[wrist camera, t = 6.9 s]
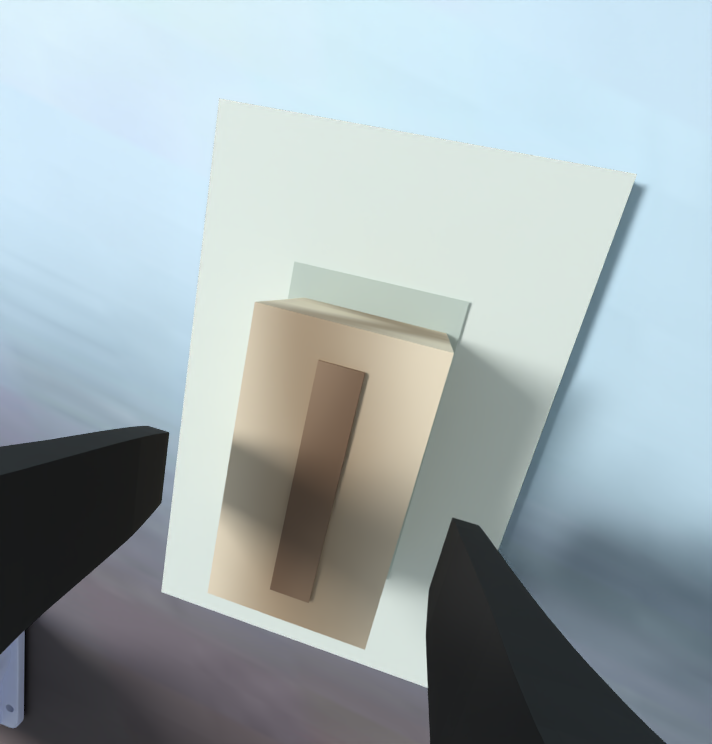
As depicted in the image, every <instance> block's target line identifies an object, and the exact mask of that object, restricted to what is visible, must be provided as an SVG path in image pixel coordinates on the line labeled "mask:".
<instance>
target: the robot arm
mask: <svg viewBox="0 0 712 744" xmlns="http://www.w3.org/2000/svg"><path fill="white" fill-rule="evenodd" d="M168 439H169V432H166V431H163V430H160V429H156V428H153V427H149V426H137V427H127V428H120V429H113V430H106V431H100V432H94V433H87V434H81V435H75V436H69V437H63V438H57V439H51V440H45V441H38V442H31V443H23V444H16V445H9V446H2V447H0V724H3V725H5V726H7V727H10V728H16V727H17V726H18V725H19V724H20V723H21V722H22V721H23V719H24V649H25V630H26V629H27V628H28V627H29V626H30V625H31V624H32V623H33V622H34V621H35V620H36V619H37V618H39V617H40V616H41V615H42V614H43V613H44V612H45V611H46V610H48V609H49V608H50V607H51V606H52V605H53V604H54V603H56V602H57V601H58V600H59V599H60V598H61V597H63V596H64V595H65V594H66V593H67V592H68V591H70V590H71V589H72V588H73V587H74V586H75V585H76V584H78V583H79V582H80V581H81V580H82V579H83V578H85V577H86V576H87V575H88V574H89V573H90V572H92V571H93V570H94V569H95V568H96V567H97V566H98V565H100V564H101V563H102V562H103V561H104V560H105V559H106V558H108V557H109V556H110V555H111V554H112V553H113V552H114V551H116V550H117V549H118V548H119V547H120V546H121V545H122V544H124V543H125V542H126V541H127V540H128V539H129V538H130V537H131V536H132V535H133V534H134V533H135V532H136V531H137V530H138V529H139V528H140V527H141V526H142V525H143V523H144V522H145V521H146V520H147V519H148V518H149V517H150V516H151V514H152V513H153V512H154V511H155V510H156V509H157V507H158V506H159V505H160V504H161V501H162V492H163V483H164V474H165V465H166V456H167V448H168ZM426 658H427V681H428V703H429V724H430V744H666V743H665V742H664V741H663V740H662V739H661V738H660V737H659V736H658V735H657V734H656V733H654V732H653V731H652V730H651V729H650V728H649V727H648V726H647V725H646V724H645V723H644V722H643V721H642V720H641V719H640V718H639V717H638V716H637V715H636V714H635V713H634V712H633V711H632V710H631V709H630V708H629V707H628V706H627V705H626V704H625V703H624V702H623V701H622V700H621V698H620V697H619V696H618V695H617V694H616V693H615V692H614V691H613V690H612V689H611V688H610V687H609V686H608V685H607V684H606V683H605V681H604V680H603V679H602V678H601V677H600V676H599V675H598V674H597V673H596V672H595V671H594V670H593V669H592V668H591V667H590V666H589V664H588V663H587V662H586V661H585V660H584V659H583V658H582V657H581V655H580V654H579V653H578V652H577V651H576V650H575V649H574V648H573V646H572V645H571V644H570V643H569V642H568V641H567V639H566V638H565V637H564V636H563V635H562V633H561V632H560V631H559V630H558V629H557V627H556V626H555V625H554V624H553V623H552V621H551V620H550V619H549V618H548V617H547V615H546V614H545V613H544V612H543V610H542V609H541V608H540V607H539V605H538V604H537V603H536V601H535V600H534V599H533V598H532V596H531V595H530V594H529V592H528V591H527V590H526V588H525V587H524V586H523V584H522V583H521V582H520V580H519V579H518V578H517V576H516V575H515V574H514V572H513V571H512V570H511V568H510V567H509V566H508V564H507V563H506V561H505V560H504V559H503V557H502V556H501V554H500V553H499V552H498V550H497V549H496V547H495V546H494V545H493V543H492V542H491V540H490V539H489V538H488V536H487V535H486V534H485V532H484V531H483V530H482V528H481V527H480V526H479V525H476V524H473V523H470V522H466V521H463V520H460V519H456V518H453V517H452V520H451V523H450V526H449V529H448V532H447V535H446V538H445V541H444V544H443V548H442V551H441V554H440V557H439V560H438V563H437V566H436V569H435V572H434V575H433V578H432V581H431V584H430V588H429V593H428V606H427V621H426Z"/></svg>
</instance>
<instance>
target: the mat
mask: <svg viewBox="0 0 712 744" xmlns="http://www.w3.org/2000/svg"><path fill="white" fill-rule="evenodd" d="M636 175H637V174H633V173H628V172H622V171H617V170H611V169H606V168H600V167H595V166H589V165H584V164H578V163H573V162H567V161H561V160H556V159H550V158H545V157H539V156H534V155H528V154H523V153H517V152H512V151H506V150H501V149H495V148H490V147H484V146H479V145H473V144H468V143H462V142H457V141H451V140H446V139H440V138H435V137H429V136H424V135H418V134H413V133H407V132H402V131H396V130H391V129H385V128H379V127H374V126H368V125H363V124H357V123H352V122H346V121H341V120H335V119H330V118H324V117H319V116H313V115H308V114H302V113H297V112H291V111H286V110H280V109H275V108H269V107H264V106H258V105H253V104H247V103H242V102H236V101H231V100H225V99H220V98H219V105H218V113H217V122H216V130H215V139H214V148H213V156H212V165H211V173H210V182H209V190H208V199H207V207H206V216H205V224H204V233H203V241H202V250H201V259H200V267H199V276H198V284H197V293H196V301H195V310H194V318H193V327H192V335H191V344H190V352H189V361H188V370H187V378H186V387H185V395H184V404H183V412H182V421H181V429H180V438H179V446H178V455H177V463H176V472H175V481H174V489H173V498H172V506H171V515H170V523H169V532H168V540H167V549H166V557H165V566H164V574H163V583H162V592H163V593H166V594H169V595H171V596H174V597H177V598H180V599H183V600H185V601H188V602H191V603H194V604H196V605H199V606H202V607H205V608H208V609H210V610H213V611H216V612H219V613H221V614H224V615H227V616H230V617H233V618H235V619H238V620H241V621H244V622H246V623H249V624H252V625H255V626H258V627H260V628H263V629H266V630H269V631H271V632H274V633H277V634H280V635H283V636H285V637H288V638H291V639H294V640H296V641H299V642H302V643H305V644H308V645H310V646H313V647H316V648H319V649H321V650H324V651H327V652H330V653H332V654H335V655H338V656H341V657H344V658H346V659H349V660H352V661H355V662H357V663H360V664H363V665H366V666H369V667H371V668H374V669H377V670H380V671H382V672H385V673H388V674H391V675H394V676H396V677H399V678H402V679H405V680H407V681H410V682H413V683H416V684H419V685H421V686H424V687H427V688H428V681H427V658H426V621H427V606H428V593H429V588H430V584H431V581H432V578H433V575H434V572H435V569H436V566H437V563H438V560H439V557H440V554H441V551H442V548H443V544H444V541H445V538H446V535H447V532H448V529H449V526H450V523H451V520H452V517H453V518H456V519H460V520H463V521H466V522H470V523H473V524H476V525H479V526H480V527H481V528H482V530H483V531H484V532H485V534H486V535H487V536H488V538H489V539H490V540H491V542H492V543H493V545H494V546H495V547H496V549H497V550H498V549H499V546H500V544H501V541H502V538H503V536H504V533H505V530H506V527H507V525H508V522H509V519H510V517H511V514H512V511H513V509H514V506H515V503H516V500H517V498H518V495H519V492H520V490H521V487H522V484H523V481H524V479H525V476H526V473H527V471H528V468H529V465H530V462H531V460H532V457H533V454H534V452H535V449H536V446H537V444H538V441H539V438H540V435H541V433H542V430H543V427H544V425H545V422H546V419H547V416H548V414H549V411H550V408H551V406H552V403H553V400H554V397H555V395H556V392H557V389H558V387H559V384H560V381H561V378H562V376H563V373H564V370H565V368H566V365H567V362H568V360H569V357H570V354H571V351H572V349H573V346H574V343H575V341H576V338H577V335H578V332H579V330H580V327H581V324H582V322H583V319H584V316H585V313H586V311H587V308H588V305H589V303H590V300H591V297H592V295H593V292H594V289H595V286H596V284H597V281H598V278H599V276H600V273H601V270H602V267H603V265H604V262H605V259H606V257H607V254H608V251H609V248H610V246H611V243H612V240H613V238H614V235H615V232H616V229H617V227H618V224H619V221H620V219H621V216H622V213H623V211H624V208H625V205H626V202H627V200H628V197H629V194H630V192H631V189H632V186H633V183H634V181H635V178H636ZM293 298H308V299H312V300H316V301H320V302H324V303H328V304H332V305H336V306H340V307H344V308H348V309H352V310H356V311H360V312H364V313H368V314H372V315H376V316H380V317H384V318H388V319H392V320H395V321H399V322H403V323H407V324H411V325H415V326H419V327H423V328H427V329H431V330H435V331H439V332H443V333H447V336H448V338H449V341H450V344H451V346H452V349H453V352H454V355H453V358H452V362H451V365H450V368H449V372H448V375H447V378H446V382H445V385H444V388H443V392H442V395H441V398H440V402H439V405H438V408H437V412H436V415H435V418H434V422H433V425H432V428H431V432H430V435H429V438H428V442H427V445H426V448H425V452H424V455H423V458H422V461H421V465H420V468H419V471H418V475H417V478H416V481H415V485H414V488H413V491H412V495H411V498H410V501H409V505H408V508H407V511H406V515H405V518H404V521H403V525H402V528H401V531H400V535H399V538H398V541H397V545H396V548H395V551H394V555H393V558H392V561H391V565H390V568H389V571H388V575H387V578H386V581H385V585H384V588H383V591H382V595H381V598H380V601H379V605H378V608H377V611H376V615H375V618H374V621H373V625H372V628H371V631H370V635H369V638H368V641H367V645H366V648H365V650H364V649H361V648H358V647H355V646H353V645H350V644H347V643H344V642H342V641H339V640H336V639H333V638H331V637H328V636H325V635H322V634H320V633H317V632H314V631H311V630H309V629H306V628H303V627H300V626H297V625H295V624H292V623H289V622H286V621H284V620H281V619H278V618H275V617H273V616H270V615H267V614H264V613H262V612H259V611H256V610H253V609H250V608H248V607H245V606H242V605H239V604H237V603H234V602H231V601H228V600H226V599H223V598H220V597H217V596H215V595H212V594H209V593H208V587H209V581H210V574H211V568H212V562H213V556H214V550H215V544H216V538H217V531H218V525H219V519H220V513H221V507H222V501H223V494H224V488H225V482H226V476H227V470H228V464H229V458H230V451H231V445H232V439H233V433H234V427H235V421H236V414H237V408H238V402H239V396H240V390H241V384H242V378H243V371H244V365H245V359H246V353H247V347H248V341H249V334H250V328H251V322H252V316H253V310H254V304H255V302H259V301H270V300H282V299H293Z"/></svg>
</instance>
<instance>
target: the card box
mask: <svg viewBox="0 0 712 744" xmlns="http://www.w3.org/2000/svg"><path fill="white" fill-rule="evenodd" d="M453 355H454V352H453V349H452V346H451V344H450V341H449V338H448V336H447V333H443V332H439V331H435V330H431V329H427V328H423V327H419V326H415V325H411V324H407V323H403V322H399V321H395V320H392V319H388V318H384V317H380V316H376V315H372V314H368V313H364V312H360V311H356V310H352V309H348V308H344V307H340V306H336V305H332V304H328V303H324V302H320V301H316V300H312V299H308V298H293V299H282V300H270V301H259V302H255V304H254V310H253V316H252V322H251V328H250V334H249V341H248V347H247V353H246V359H245V365H244V371H243V378H242V384H241V390H240V396H239V402H238V408H237V414H236V421H235V427H234V433H233V439H232V445H231V451H230V458H229V464H228V470H227V476H226V482H225V488H224V494H223V501H222V507H221V513H220V519H219V525H218V531H217V538H216V544H215V550H214V556H213V562H212V568H211V574H210V581H209V587H208V593H209V594H212V595H215V596H217V597H220V598H223V599H226V600H228V601H231V602H234V603H237V604H239V605H242V606H245V607H248V608H250V609H253V610H256V611H259V612H262V613H264V614H267V615H270V616H273V617H275V618H278V619H281V620H284V621H286V622H289V623H292V624H295V625H297V626H300V627H303V628H306V629H309V630H311V631H314V632H317V633H320V634H322V635H325V636H328V637H331V638H333V639H336V640H339V641H342V642H344V643H347V644H350V645H353V646H355V647H358V648H361V649H364V650H365V648H366V645H367V641H368V638H369V635H370V631H371V628H372V625H373V621H374V618H375V615H376V611H377V608H378V605H379V601H380V598H381V595H382V591H383V588H384V585H385V581H386V578H387V575H388V571H389V568H390V565H391V561H392V558H393V555H394V551H395V548H396V545H397V541H398V538H399V535H400V531H401V528H402V525H403V521H404V518H405V515H406V511H407V508H408V505H409V501H410V498H411V495H412V491H413V488H414V485H415V481H416V478H417V475H418V471H419V468H420V465H421V461H422V458H423V455H424V452H425V448H426V445H427V442H428V438H429V435H430V432H431V428H432V425H433V422H434V418H435V415H436V412H437V408H438V405H439V402H440V398H441V395H442V392H443V388H444V385H445V382H446V378H447V375H448V372H449V368H450V365H451V362H452V358H453Z"/></svg>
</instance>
